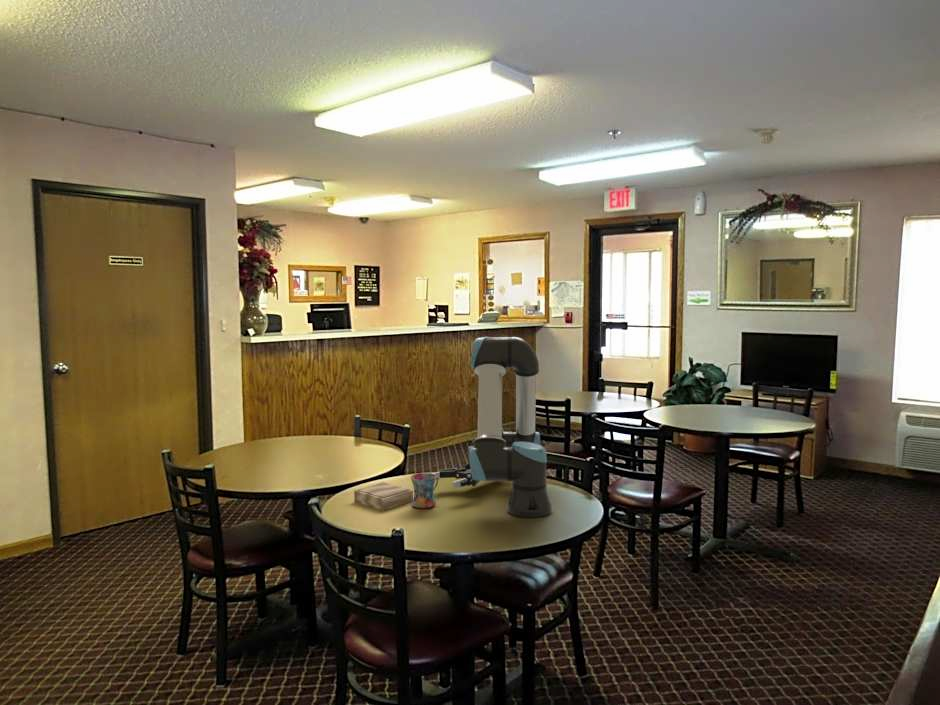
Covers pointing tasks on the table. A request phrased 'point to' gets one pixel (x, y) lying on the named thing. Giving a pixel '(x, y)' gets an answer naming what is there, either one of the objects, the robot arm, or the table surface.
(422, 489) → the mug
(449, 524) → the table surface
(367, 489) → the block
